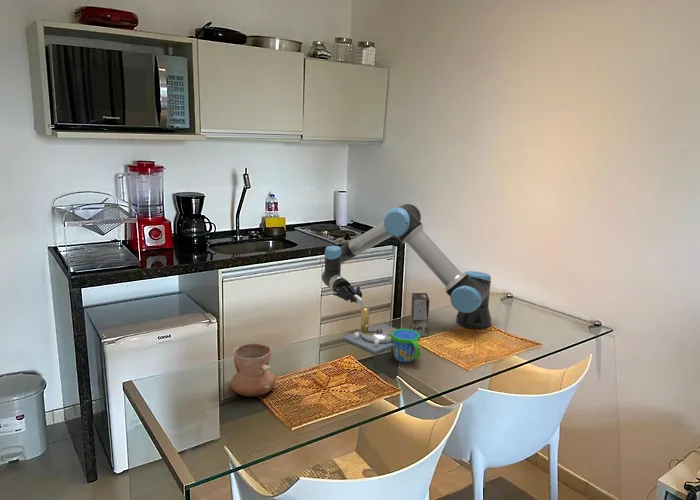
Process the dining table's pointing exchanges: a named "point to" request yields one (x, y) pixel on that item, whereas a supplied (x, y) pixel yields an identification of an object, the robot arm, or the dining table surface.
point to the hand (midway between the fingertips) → (361, 302)
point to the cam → (374, 329)
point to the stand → (366, 345)
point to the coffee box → (420, 313)
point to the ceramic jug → (252, 370)
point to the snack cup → (405, 345)
